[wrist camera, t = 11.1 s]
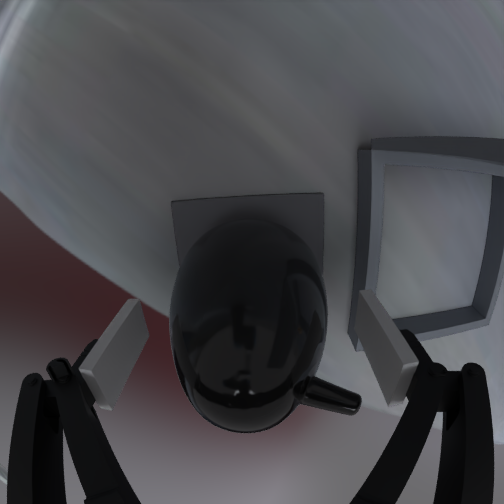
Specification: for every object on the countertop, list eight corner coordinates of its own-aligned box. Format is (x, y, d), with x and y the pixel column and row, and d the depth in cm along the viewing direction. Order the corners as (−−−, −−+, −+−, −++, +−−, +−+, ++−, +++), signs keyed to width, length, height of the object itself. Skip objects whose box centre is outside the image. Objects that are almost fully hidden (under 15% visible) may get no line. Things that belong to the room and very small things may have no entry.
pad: (172, 201, 23) (170, 202, 22) (322, 192, 22) (323, 193, 22) (191, 328, 27) (190, 330, 26) (319, 323, 26) (319, 325, 26)
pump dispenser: (299, 328, 26) (327, 476, 12) (186, 310, 26) (131, 453, 11) (328, 220, 23) (423, 329, 8) (197, 198, 22) (101, 282, 8)
